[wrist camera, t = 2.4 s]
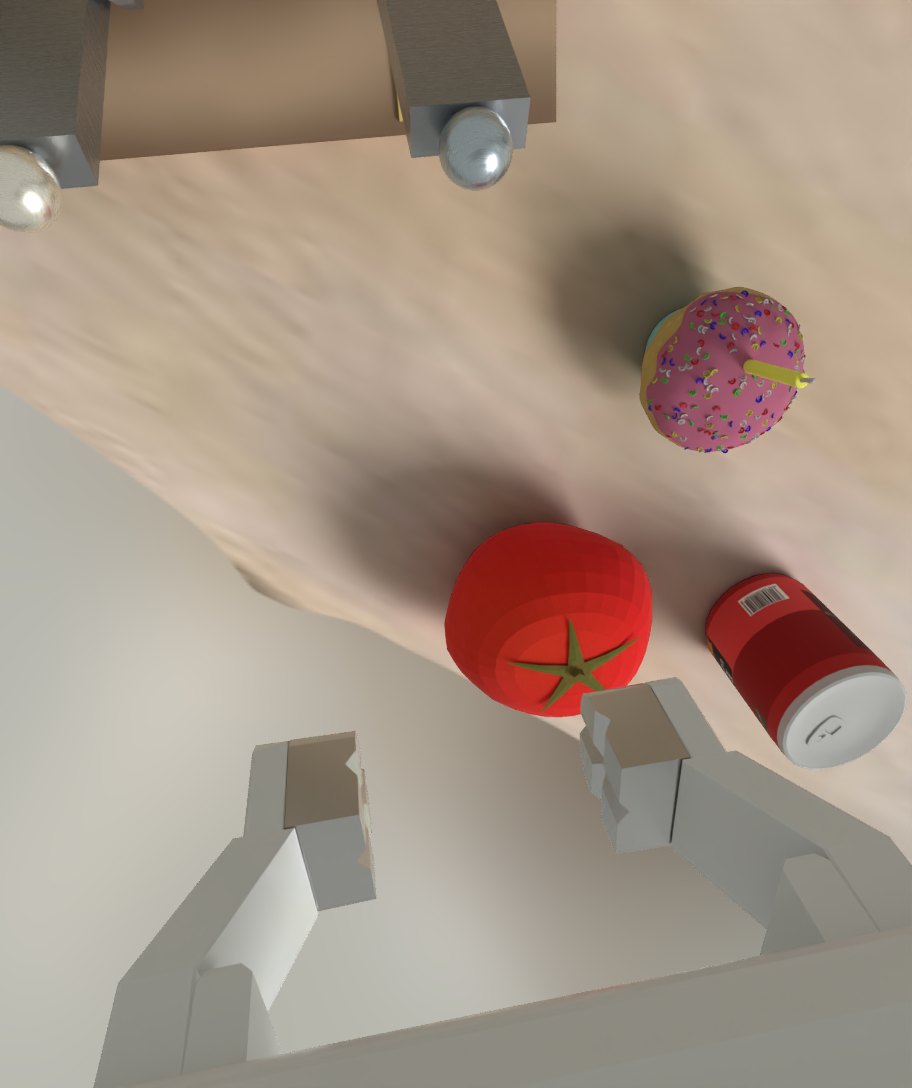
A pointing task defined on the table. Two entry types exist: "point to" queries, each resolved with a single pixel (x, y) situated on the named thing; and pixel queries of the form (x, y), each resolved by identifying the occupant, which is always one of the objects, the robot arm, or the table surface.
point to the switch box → (274, 73)
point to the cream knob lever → (49, 104)
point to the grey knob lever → (457, 85)
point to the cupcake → (722, 370)
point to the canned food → (803, 672)
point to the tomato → (549, 617)
